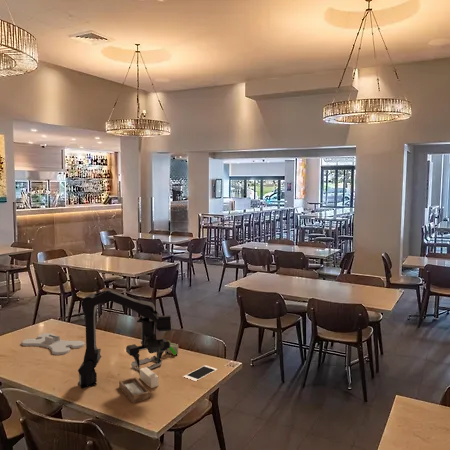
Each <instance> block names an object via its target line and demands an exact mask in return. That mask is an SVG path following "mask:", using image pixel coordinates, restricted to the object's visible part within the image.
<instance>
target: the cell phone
mask: <svg viewBox="0 0 450 450" xmlns="http://www.w3.org/2000/svg"><path fill="white" fill-rule="evenodd" d="M216 371H218V368H215V367H212V366H209V365H207V364H206V365H202V366H201V367H199V368H197V369H194V370H193V371H191V372H189V373H187V374H184V375H182V377H183V378H184V377H185V379H187V378H188V380H190V379H191V380H190V381H193V382H198V381H199V380H201V379H203V378H205V377H207V376H209V375H211V374H212V373H214V372H216ZM210 373H211V374H210ZM197 380H198V381H197Z"/></svg>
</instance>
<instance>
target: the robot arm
mask: <svg viewBox="0 0 450 450" xmlns="http://www.w3.org/2000/svg"><path fill="white" fill-rule="evenodd" d="M107 301H109V302H112V303H115V304H118V305H120V306H123V307H125V308H128V309H131V310H133V311H134V312H136V313H137V314H138V315H139V318H137V320H136V322H137V323H141V331H140V336H141V341H140V344H141V345H139V346H137V345H136V344H135V343H134V344H129V345H127V346H126V348H125V352H126V354H128V355H129V356H132V357H133V359H134V362H135V361H136V364H137V366H136V367H137V368H138V369H141V367H140V366H141V364H140V363H139V360H140V356H141V355H140V351H144V350H147V351H148V353H149V354H154V353H156V357H157V362H156V363H158V364H159V362H160V360H162V356H163V354H164V353H165V350H167V348H170V343H171V341H170V340H167V339H166V338H159V339H158V338H157V333H156V332H155V331H156V330H157V331H158V332H172V327H173V326H172V325H173V324H172V316H171V315H170V314H168V315H167V314H166V315H160V313H159V312H158V311H157V310H156V307H155V304H154V303H153V302H152V301H147V300H141V299H140V300H139V299H135V298H132V297H130V296H127V295H125V294H122V293H120V292H117V291H115V290H113V289H111V288H107V289H105V290H102V291H99V292H96V293H88V294H87V295H86V296H85V297H84V298H83V299H82V300H81V308H82V313H83V315H84V318H85V319H84V320H85V325H84V326H85V347H86V348H85V352H84V357H83V360H82V361H83V362H82V363H81V365H80V366H79V368H78V370H77V372H78V378H79V379H78V380H79V381H78V382H77V383H78V385H79V386H80V388H81V389H85V388H89V387H93V386H96V385H97V381H98V379H97V372H96V367H97V365H98V364H99V362H100V360H101V358H102V355H101V350H102V349H101V348H98V347H97V338H96V337H97V333H96V332H97V330H96V327H97V326H96V325H97V324H96V313H97V309H98V305H100V304H101V303H105V302H107ZM155 329H156V330H155ZM169 341H170V342H169Z"/></svg>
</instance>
